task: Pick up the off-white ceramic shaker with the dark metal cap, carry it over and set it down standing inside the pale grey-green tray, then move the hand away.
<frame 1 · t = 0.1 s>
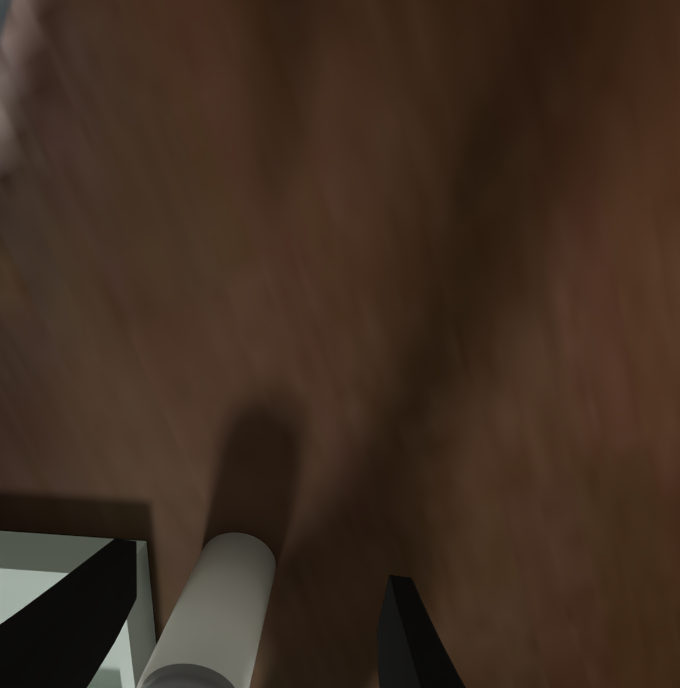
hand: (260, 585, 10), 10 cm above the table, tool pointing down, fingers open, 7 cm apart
shaker: (238, 563, 22), on the table
tray: (45, 610, 24), on the table
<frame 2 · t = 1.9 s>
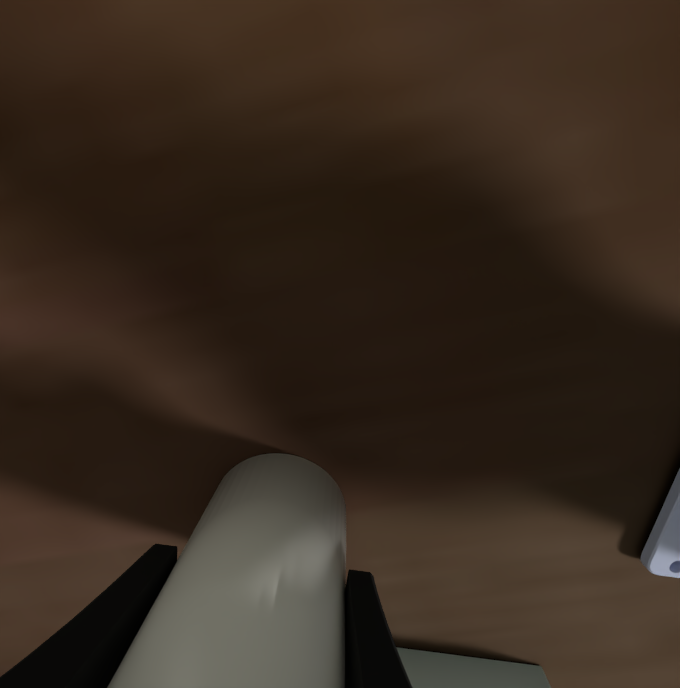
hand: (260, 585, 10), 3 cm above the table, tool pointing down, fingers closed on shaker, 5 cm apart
shaker: (279, 511, 13), on the table, touching gripper
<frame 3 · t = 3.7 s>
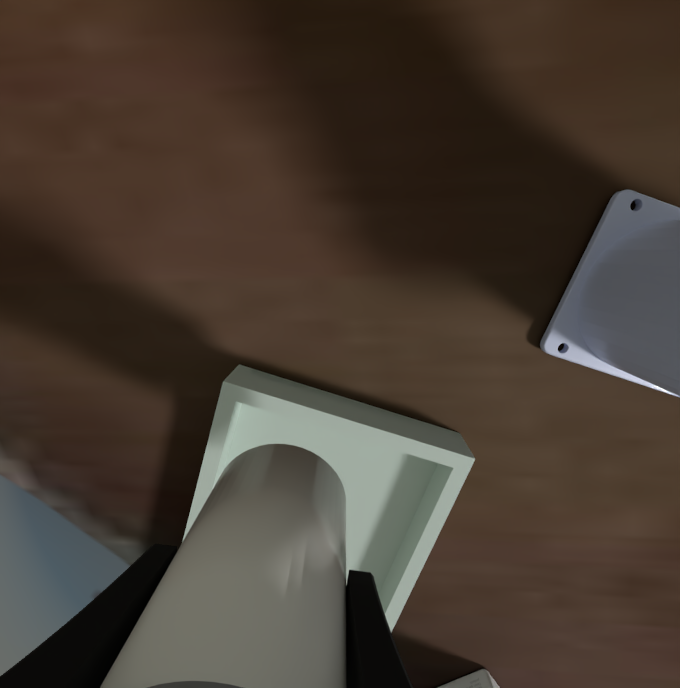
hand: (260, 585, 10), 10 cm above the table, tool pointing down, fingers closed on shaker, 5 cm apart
shaker: (280, 502, 13), point 7 cm above the table, touching gripper
tray: (312, 507, 21), on the table
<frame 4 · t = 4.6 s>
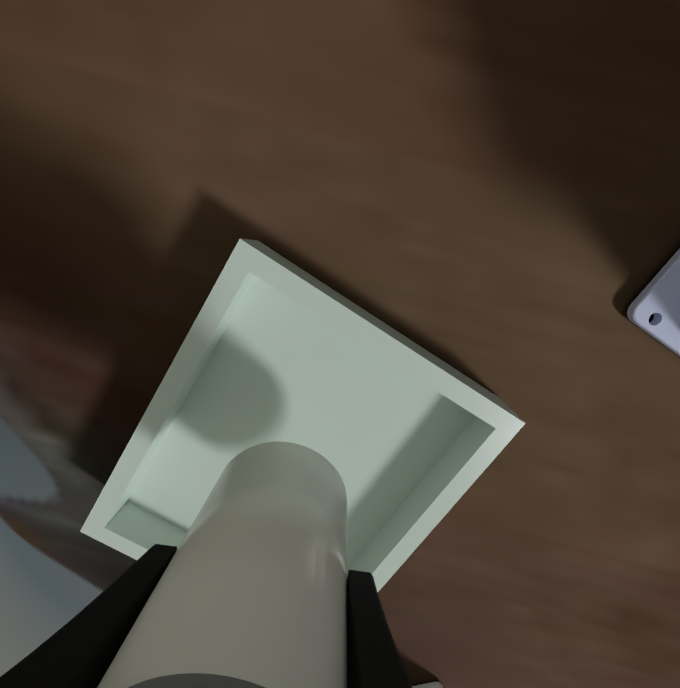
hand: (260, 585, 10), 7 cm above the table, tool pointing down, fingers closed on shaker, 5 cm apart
shaker: (281, 500, 13), point 4 cm above the table, touching gripper
tray: (297, 447, 17), on the table
when the fingers open (5 cm above the table, at t = 5.4 s): shaker drops 2 cm, resting on tray.
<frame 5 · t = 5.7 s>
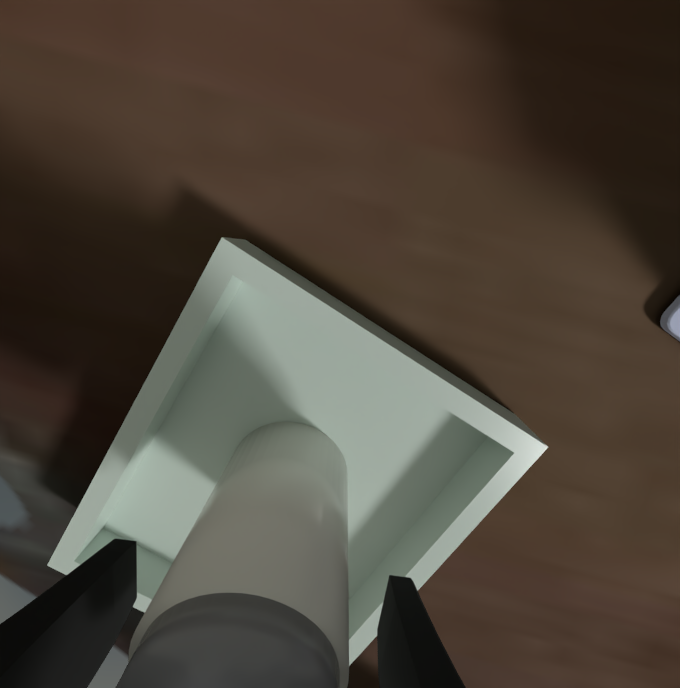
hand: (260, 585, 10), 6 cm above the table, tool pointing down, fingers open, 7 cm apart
shaker: (288, 475, 14), point 1 cm above the table, touching tray
tray: (291, 469, 15), on the table
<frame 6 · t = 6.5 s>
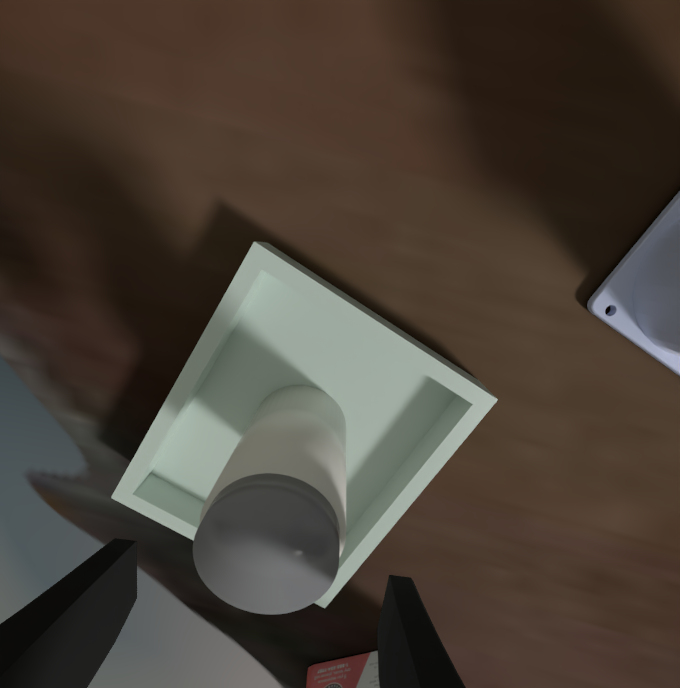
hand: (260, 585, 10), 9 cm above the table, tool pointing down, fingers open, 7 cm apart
shaker: (300, 428, 18), point 1 cm above the table, touching tray
tray: (301, 426, 19), on the table
ink cartridge box: (378, 672, 24), on the table
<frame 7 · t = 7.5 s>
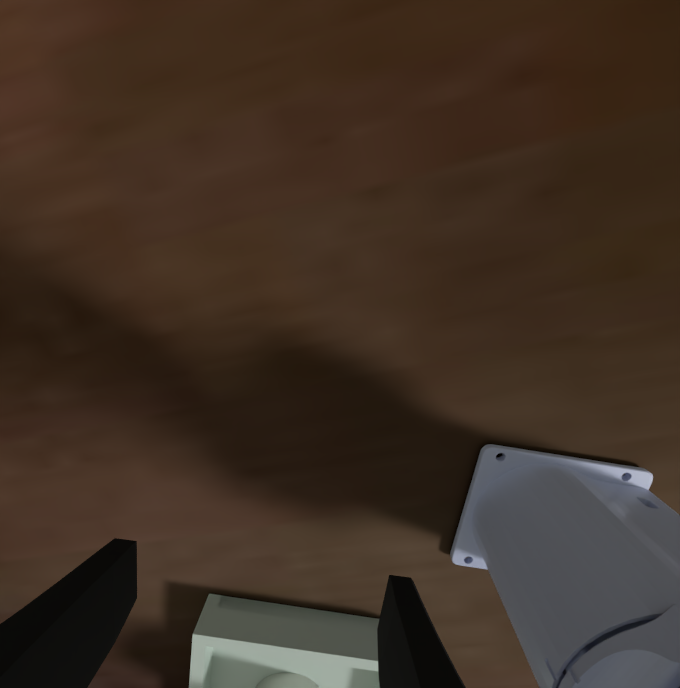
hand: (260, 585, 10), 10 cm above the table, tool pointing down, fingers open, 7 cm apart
tray: (291, 687, 25), on the table
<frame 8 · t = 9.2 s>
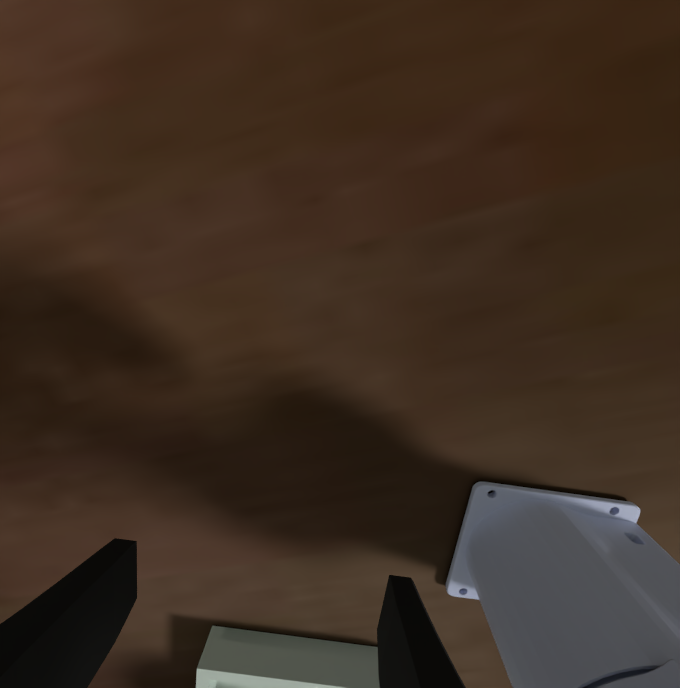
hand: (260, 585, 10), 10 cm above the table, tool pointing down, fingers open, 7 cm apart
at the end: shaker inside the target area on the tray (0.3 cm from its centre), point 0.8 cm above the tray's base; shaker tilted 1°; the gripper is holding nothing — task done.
